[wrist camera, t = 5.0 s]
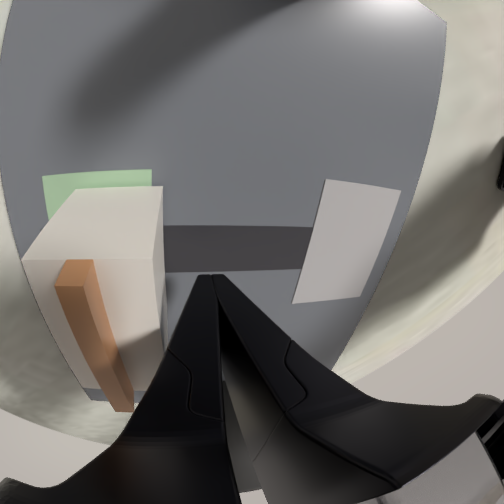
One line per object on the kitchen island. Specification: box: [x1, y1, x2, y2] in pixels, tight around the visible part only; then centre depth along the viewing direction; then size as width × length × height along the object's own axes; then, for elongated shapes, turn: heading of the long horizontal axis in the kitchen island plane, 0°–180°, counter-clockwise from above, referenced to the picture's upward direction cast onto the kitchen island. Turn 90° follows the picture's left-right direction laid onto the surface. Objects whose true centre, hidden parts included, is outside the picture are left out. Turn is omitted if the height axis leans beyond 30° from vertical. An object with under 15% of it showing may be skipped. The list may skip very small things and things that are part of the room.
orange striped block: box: [21, 186, 168, 412], centre depth 7 cm, size 3×5×5 cm, turn 173°
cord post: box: [223, 380, 262, 493], centre depth 13 cm, size 2×2×7 cm
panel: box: [0, 0, 447, 403], centre depth 11 cm, size 17×24×1 cm
